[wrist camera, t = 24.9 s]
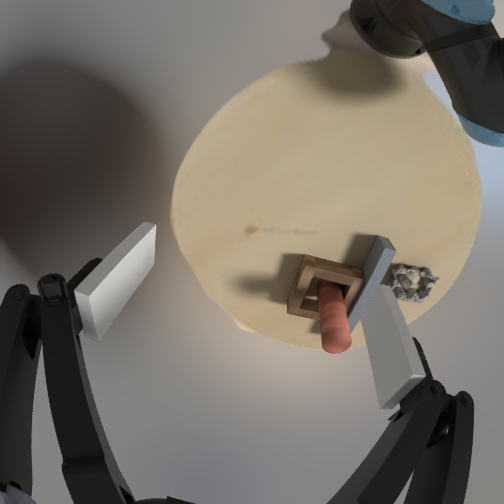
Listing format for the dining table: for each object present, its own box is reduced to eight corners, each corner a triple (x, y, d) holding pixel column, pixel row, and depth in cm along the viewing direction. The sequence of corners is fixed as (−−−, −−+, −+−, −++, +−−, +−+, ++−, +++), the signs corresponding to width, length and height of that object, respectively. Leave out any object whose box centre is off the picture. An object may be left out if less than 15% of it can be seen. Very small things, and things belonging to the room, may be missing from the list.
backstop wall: (377, 235, 50) (385, 247, 45) (388, 238, 50) (396, 251, 45) (329, 331, 62) (331, 346, 58) (338, 333, 62) (340, 348, 58)
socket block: (304, 254, 53) (305, 265, 50) (360, 268, 53) (364, 279, 50) (287, 301, 59) (286, 313, 56) (338, 312, 59) (340, 324, 56)
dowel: (321, 274, 55) (329, 330, 41) (343, 280, 55) (356, 336, 41) (313, 293, 58) (317, 350, 44) (334, 299, 58) (343, 355, 44)
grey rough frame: (434, 267, 51) (441, 277, 48) (421, 295, 55) (427, 306, 51) (394, 260, 52) (401, 270, 48) (382, 289, 55) (387, 301, 52)
